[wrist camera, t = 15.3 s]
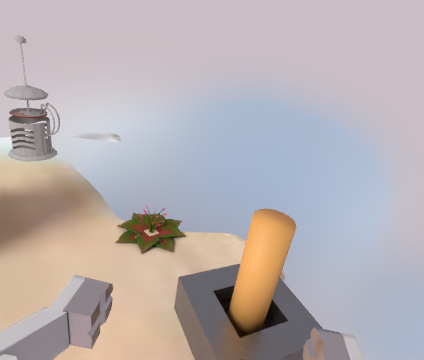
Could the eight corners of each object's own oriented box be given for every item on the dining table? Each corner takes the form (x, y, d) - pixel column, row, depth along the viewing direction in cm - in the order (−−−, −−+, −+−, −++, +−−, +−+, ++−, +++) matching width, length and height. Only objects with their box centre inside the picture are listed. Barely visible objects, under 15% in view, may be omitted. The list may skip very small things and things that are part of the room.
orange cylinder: (215, 333, 33) (244, 216, 26) (238, 315, 36) (269, 205, 29) (241, 360, 31) (279, 239, 24) (264, 339, 33) (304, 225, 27)
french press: (29, 142, 73) (16, 33, 62) (72, 152, 72) (66, 42, 61) (-3, 155, 64) (-25, 30, 54) (45, 166, 63) (33, 40, 53)
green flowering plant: (101, 250, 43) (100, 225, 41) (127, 209, 54) (128, 188, 52) (180, 264, 43) (184, 239, 41) (191, 220, 54) (194, 199, 52)
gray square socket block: (174, 307, 35) (178, 277, 33) (255, 286, 41) (263, 258, 39) (216, 414, 26) (226, 380, 24) (315, 368, 31) (330, 337, 29)
